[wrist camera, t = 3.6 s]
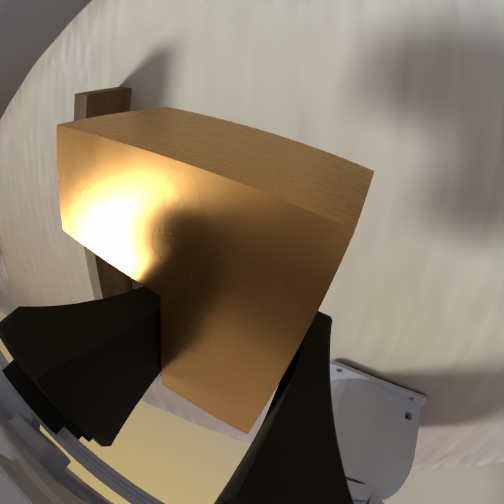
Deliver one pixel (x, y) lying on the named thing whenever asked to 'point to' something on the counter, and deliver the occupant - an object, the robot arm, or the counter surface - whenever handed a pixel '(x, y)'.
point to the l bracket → (213, 239)
